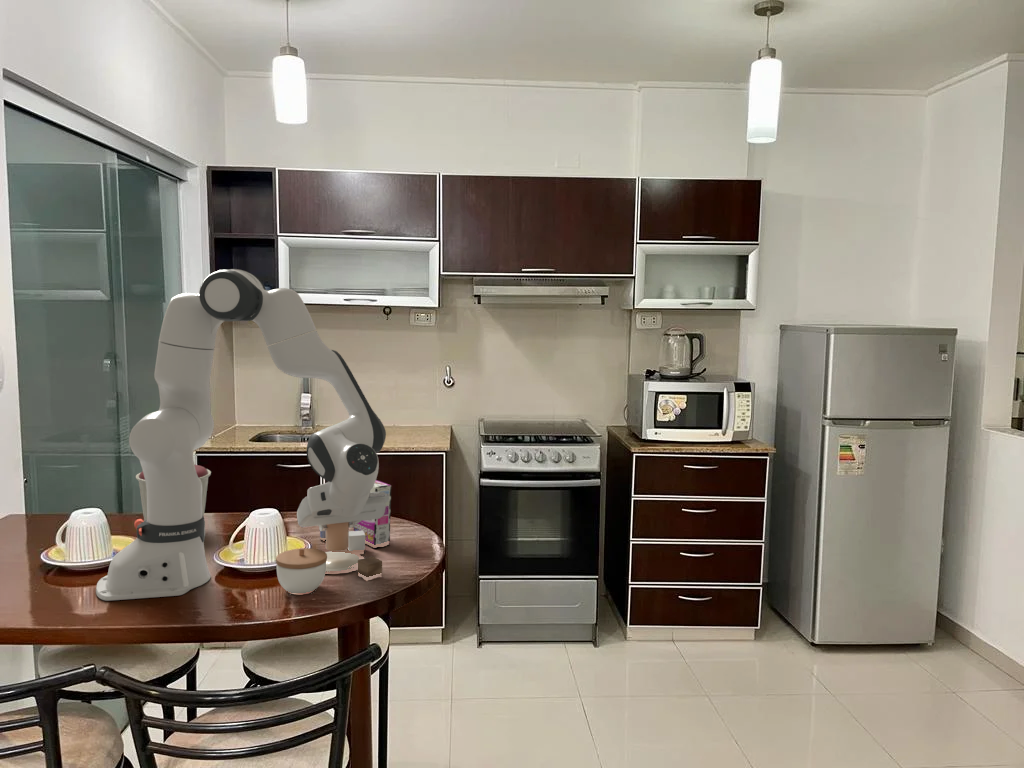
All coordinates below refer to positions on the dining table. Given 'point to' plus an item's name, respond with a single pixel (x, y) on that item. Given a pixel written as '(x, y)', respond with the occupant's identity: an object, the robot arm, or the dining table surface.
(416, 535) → the dining table surface
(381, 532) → the candy bar box
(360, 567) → the walnut block
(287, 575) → the lidded jar
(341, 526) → the tan cylinder
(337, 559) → the cream plate
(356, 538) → the grey block
